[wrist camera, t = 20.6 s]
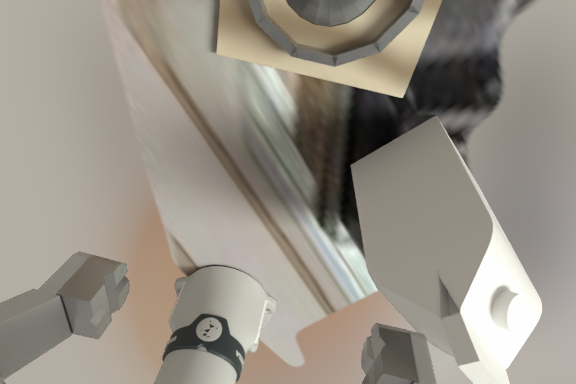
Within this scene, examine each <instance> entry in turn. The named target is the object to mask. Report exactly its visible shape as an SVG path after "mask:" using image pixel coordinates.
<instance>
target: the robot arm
mask: <svg viewBox="0 0 576 384" xmlns="http://www.w3.org/2000/svg"><path fill="white" fill-rule="evenodd" d="M127 271H128V270H127V265H126V264H125V263H121V262H117V261H113V260H110V259H106V258H103V257H99V256H95V255H91V254H87V253H82V252H77V253H76V254H74V255H72V256H71V258H69V260H67V261H66V262H65V263H64V264H63V265H62V266H61V267H60V268H59V270H58V271H56V272H55V274H53V275H52V276H51V278H49V279H48V281H46V282H45V284H43V285H42V286H41V287H40V288H39V290H35V289H32V290H30V291H27V292H25V293H23V294H21V295H18V296H16V297H13V298H11V299H9V300H6V301H4V302H2V303H0V384H5V382H4V379H6V378H7V377H9V376H10V375H12V374H13V373H15V372H16V371H18V370H19V369H21V368H22V367H24V366H25V365H27V364H28V363H30V362H32V361H33V360H35V359H36V358H38V357H39V356H41V355H42V354H44V353H45V352H47V351H49V350H50V349H51V348H53V347H55V346H56V345H58V344H59V343H61V342H62V341H64V340H65V339H67V338H68V337H70V336H71V335H72V334H76V335H81V336H85V337H90V338H95V339H99V338H100V337H101V336H102V334H103V333H104V331H105V330H106V328H107V326H108V325H109V324H110V323H111V321H112V319H111V314H112V313H113V312H115V311H117V310H119V309H120V308H121V307H122V305H123V303H124V302H125V300H126V297H127V295H128V293H129V286H130V285H129V280H128V279H127V278H126V277H125V274H126V273H127ZM175 289H176V293H177V296H178V299H177V301H176V303H175V306H174V308H173V311H172V313H171V316H170V319H169V323H170V327H171V329H172V331H173V334H172V336H171V338H170V340H169V341H168V343H167V345H166V348H165V352H164V355H163V364H162V366H161V369H160V371H159V373H158V375H157V378H156V380H155V382H154V384H235V383H236V382H237V381H238V380H239V378H240V374H241V372H242V369H243V366H244V364H243V363H244V359H245V355H246V354H247V352H248V351H250V352H253V353H254V352H256V349H257V346H258V343H259V338H258V337H259V333H260V332H261V330H262V329H263V327H264V326H265V324H266V323H267V321H268V320H269V318H270V317H271V315H272V314H273V312H274V311H275V309H276V306H277V302H276V301H275V300H274V299H273V298H271V297H270V296H268V295H267V294H266V293H265V292H264V290H263V289H262V287H261V286H260V285H259V283H258V282H257V281H255V280H254V279H253V278H252V277H250V276H249V275H247V274H245V273H243V272H241V271H239V270H236V269H233V268H228V267H222V266H211V267H205V268H202V269H199V270H197V271H196V272H194V273H193V274H192V275H190V276H187V277H182V278H179V279H177V280H176V282H175ZM371 335H372V336H370V337H368V338H367V339H366V341H365V343H364V346H363V350H362V360H361V361H362V369H363V371H364V372H365V374H366V376H365V378H364V380H363V382H362V384H437V383H436V378H435V374H434V370H433V365H432V361H431V357H430V353H429V348H428V344H427V339H426V337H425V335H424V334H421V333H416V332H412V331H407V330H405V329H400V328H396V327H392V326H387V325H383V324H378V323H376V324H374V325H373V327H372V329H371Z"/></svg>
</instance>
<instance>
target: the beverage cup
mask: <svg viewBox="0 0 576 384" xmlns="http://www.w3.org/2000/svg"><path fill="white" fill-rule="evenodd" d="M375 1H376V0H286V2H287V4H288V5H289V6H290V7H291V8H292V9H293V10H294V11H295V12H296V13H297V15H298V16H299V17H301V18H303V19H305V20H307V21H308V22H310V23H312V24H314V25H320V26H328V27H333V26H337V25H342V24H347V23H349V22H350V21H352V20H354V19H356V18H357V17H359V16H361V15H362V14H363V13H364V12H365V11H366V10H367V9H368V8H369V7H370V6H371V5H372V4H373V3H374V2H375Z"/></svg>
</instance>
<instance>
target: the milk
mask: <svg viewBox="0 0 576 384" xmlns="http://www.w3.org/2000/svg"><path fill="white" fill-rule="evenodd" d="M351 171H352V177H353V183H354V190H355V196H356V202H357V208H358V215H359V221H360V227H361V233H362V240H363V246H364V252H365V258H366V265H367V269H368V272H369V274H370V276H371V278H372V280H373V282H374V284H375V285H376V287H377V289H378V290H379V291H380V292H381V293H382V294H383V295H384V296H385V297H386V298H387V300H388V301H389V302H390V303H391V304H392V305H393V306H394V307H395V309H396V310H397V311H398V312H399V313H400V314H401V315H402V316H403V317H404V318H405V319H406V321H407V322H408V323H409V324H410V325H411V326H412V327H413V328H414V329H415V330H416V332H417V333H421V334H424V335H425V337H426V339H427V341H428V342H429V343H431V344H432V345H434V346H435V347H436V348H438V349H440V350H441V351H443V352H445V353H447V354H449V355H451V356H453V357H455V359H456V362H457V365H458V366H459V368H460V369H461V370H462V371H463V372H464V373H465V374H466V376H467V377H468V378H469V379H470V380H471V381H472V382H473V383H474V384H509V380H508V376H507V372H506V370H505V369H507V368H508V367H509V365H510V363H511V362H512V361H513V359H514V358H515V356H516V355H517V353H518V351H519V350H520V348H521V347H522V346H523V344H524V343H525V341H526V339H527V338H528V336H529V335H530V334H531V332H532V331H533V329H534V328H535V326H536V324H537V322H538V321H539V319H540V316H541V313H542V303H541V300H540V298H539V296H538V294H537V292H536V290H535V288H534V287H533V285H532V283H531V281H530V279H529V277H528V275H527V274H526V272H525V270H524V268H523V266H522V265H521V263H520V261H519V259H518V257H517V255H516V254H515V252H514V250H513V248H512V246H511V244H510V243H509V241H508V239H507V237H506V235H505V234H504V232H503V230H502V228H501V226H500V224H499V223H498V221H497V219H496V217H495V215H494V213H493V212H492V210H491V208H490V206H489V205H488V202H487V201H486V199H485V197H484V195H483V193H482V191H481V190H480V188H479V186H478V184H477V183H476V181H475V179H474V178H473V176H472V174H471V173H470V171H469V169H468V168H467V166H466V164H465V162H464V161H463V159H462V157H461V156H460V154H459V152H458V151H457V149H456V147H455V146H454V144H453V142H452V141H451V139H450V137H449V135H448V134H447V132H446V130H445V129H444V127H443V125H442V124H441V122H440V120H439V119H438V117H437V115H436V116H434V117H432V118H431V119H429V120H427V121H425V122H424V123H422V124H420V125H419V126H417V127H415V128H413V129H412V130H410V131H408V132H407V133H405V134H403V135H401V136H400V137H398V138H396V139H395V140H393V141H391V142H389V143H388V144H386V145H384V146H383V147H381V148H379V149H377V150H376V151H374V152H372V153H370V154H369V155H367V156H365V157H364V158H362V159H360V160H358V161H357V162H355V163H353V164H352V165H351Z"/></svg>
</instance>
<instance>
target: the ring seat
mask: <svg viewBox="0 0 576 384" xmlns="http://www.w3.org/2000/svg"><path fill="white" fill-rule="evenodd" d="M441 2H442V0H376V1H375V2H374V3H373V4H372V5H371V6H370V7H369V8H368V9H367V10H366V11H365V12H364V13H363V14H362V15H361V16H359V17H357V18H356V19H354V20H352V21H350V22H349V23H347V24H342V25H337V26H333V27H328V26H320V25H314V24H312V23H310V22H308V21H307V20H305V19H303V18H301V17H299V16H298V15H297V13H296V12H295V11H294V10H293V9H292V8H291V7H290V6H289V5H288V4H287V2H286V0H220V8H219V24H218V39H217V54H218V55H222V56H226V57H231V58H235V59H239V60H243V61H247V62H252V63H256V64H260V65H264V66H269V67H273V68H277V69H281V70H286V71H290V72H294V73H298V74H303V75H307V76H311V77H315V78H320V79H324V80H328V81H332V82H337V83H341V84H345V85H349V86H353V87H358V88H362V89H366V90H370V91H375V92H379V93H383V94H387V95H392V96H396V97H400V98H403V96H404V94H405V91H406V89H407V86H408V84H409V81H410V79H411V76H412V74H413V71H414V69H415V67H416V64H417V62H418V59H419V57H420V54H421V52H422V49H423V47H424V44H425V42H426V39H427V37H428V34H429V32H430V30H431V27H432V25H433V22H434V20H435V17H436V15H437V12H438V10H439V7H440V5H441Z"/></svg>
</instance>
